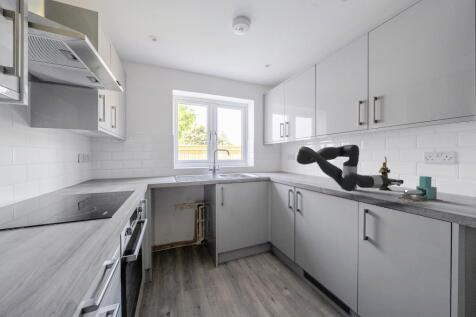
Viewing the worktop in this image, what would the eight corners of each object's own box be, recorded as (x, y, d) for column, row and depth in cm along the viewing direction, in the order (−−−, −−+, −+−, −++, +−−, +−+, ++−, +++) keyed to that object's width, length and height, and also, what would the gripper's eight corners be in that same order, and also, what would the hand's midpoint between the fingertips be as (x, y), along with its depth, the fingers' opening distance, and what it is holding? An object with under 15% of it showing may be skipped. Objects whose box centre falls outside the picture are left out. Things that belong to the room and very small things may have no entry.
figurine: (376, 189, 143) (377, 156, 143) (384, 188, 147) (385, 156, 147) (385, 191, 138) (386, 156, 137) (394, 190, 141) (395, 156, 141)
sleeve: (427, 199, 108) (428, 177, 108) (416, 196, 114) (416, 175, 114) (434, 199, 108) (434, 177, 108) (421, 196, 115) (422, 175, 115)
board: (411, 201, 106) (411, 200, 106) (397, 198, 114) (397, 197, 114) (442, 201, 108) (442, 199, 108) (426, 197, 116) (426, 196, 116)
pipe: (409, 199, 108) (409, 187, 108) (402, 198, 112) (402, 186, 112) (436, 199, 110) (437, 187, 110) (429, 197, 114) (429, 186, 114)
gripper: (366, 186, 114) (391, 186, 116) (386, 190, 101) (414, 190, 103) (366, 173, 113) (391, 173, 116) (387, 176, 100) (415, 176, 103)
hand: (402, 181), depth 110 cm, fingers closed
